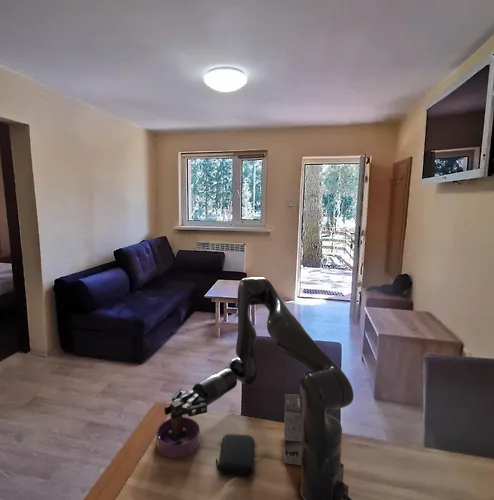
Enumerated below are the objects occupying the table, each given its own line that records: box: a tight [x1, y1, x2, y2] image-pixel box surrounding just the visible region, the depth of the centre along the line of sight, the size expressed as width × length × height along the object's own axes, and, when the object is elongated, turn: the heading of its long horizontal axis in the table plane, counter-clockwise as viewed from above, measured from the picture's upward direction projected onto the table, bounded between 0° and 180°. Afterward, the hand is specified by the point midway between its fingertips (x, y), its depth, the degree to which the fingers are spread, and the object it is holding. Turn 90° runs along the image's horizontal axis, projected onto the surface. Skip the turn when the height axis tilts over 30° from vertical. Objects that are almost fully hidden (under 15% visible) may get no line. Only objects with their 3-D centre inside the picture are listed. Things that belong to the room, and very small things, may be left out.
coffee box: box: [283, 393, 303, 466], centre depth 97 cm, size 9×6×16 cm
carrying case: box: [215, 433, 255, 478], centre depth 96 cm, size 11×3×15 cm
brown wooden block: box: [168, 400, 186, 442], centre depth 102 cm, size 4×3×11 cm
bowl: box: [155, 416, 201, 459], centre depth 102 cm, size 13×13×4 cm
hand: (168, 413), depth 99 cm, fingers closed on brown wooden block, 2 cm apart
